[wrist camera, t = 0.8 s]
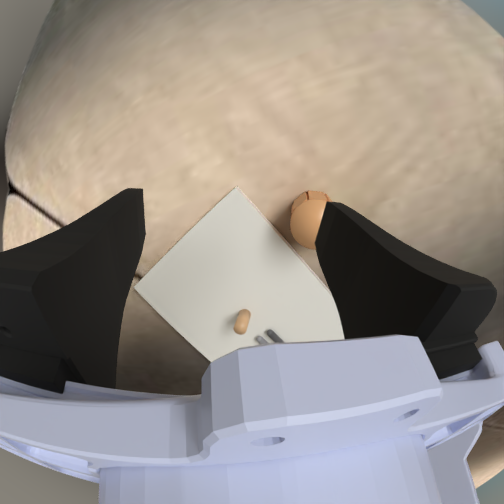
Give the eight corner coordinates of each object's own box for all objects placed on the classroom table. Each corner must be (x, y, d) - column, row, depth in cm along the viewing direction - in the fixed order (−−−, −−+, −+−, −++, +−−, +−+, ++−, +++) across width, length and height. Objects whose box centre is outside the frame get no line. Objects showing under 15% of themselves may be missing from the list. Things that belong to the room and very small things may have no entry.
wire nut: (344, 216, 28) (351, 228, 24) (310, 242, 30) (312, 259, 26) (316, 182, 28) (319, 189, 23) (282, 210, 29) (279, 221, 25)
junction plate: (362, 330, 33) (367, 350, 29) (253, 391, 39) (248, 411, 35) (237, 186, 29) (228, 192, 25) (137, 283, 35) (121, 298, 32)
